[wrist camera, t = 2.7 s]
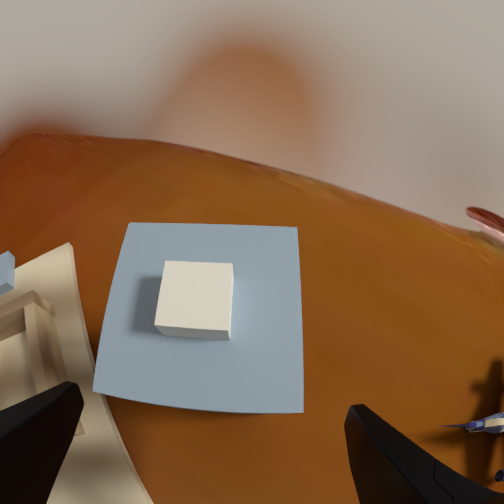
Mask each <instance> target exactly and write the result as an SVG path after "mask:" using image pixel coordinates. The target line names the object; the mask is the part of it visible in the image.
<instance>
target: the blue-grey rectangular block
mask: <svg viewBox="0 0 504 504" xmlns="http://www.w3.org/2000/svg"><path fill="white" fill-rule="evenodd" d="M92 391H93V392H97V393H101V394H105V395H110V396H114V397H118V398H123V399H128V400H133V401H138V402H143V403H148V404H154V405H160V406H167V407H174V408H181V409H189V410H198V411H210V412H223V413H242V414H285V413H303V336H302V306H301V284H300V265H299V249H298V234H297V227H278V226H253V225H223V224H183V223H129V225H128V228H127V231H126V235H125V238H124V241H123V245H122V248H121V252H120V255H119V259H118V263H117V266H116V270H115V274H114V278H113V282H112V286H111V290H110V294H109V298H108V303H107V307H106V312H105V317H104V322H103V327H102V332H101V337H100V343H99V348H98V355H97V361H96V367H95V374H94V382H93V390H92Z"/></svg>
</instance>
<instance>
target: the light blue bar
mask: <svg viewBox="0 0 504 504" xmlns="http://www.w3.org/2000/svg"><path fill="white" fill-rule="evenodd" d="M13 289H15V257H14V256H13V255H12V254H11V253H10V252H9V251H7V252H5V253H3V254H1V255H0V296H1V295H3V294H5V293H7V292H9V291H11V290H13Z"/></svg>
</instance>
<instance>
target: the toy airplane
mask: <svg viewBox="0 0 504 504" xmlns="http://www.w3.org/2000/svg"><path fill="white" fill-rule="evenodd" d="M445 426H449V427H465V430H469V432H479V431H486V432H491V433H495V434H498V433H501V432H503V431H504V413H502V412H499V413H497V414H494V415H492V416H489V417H486V418H483V419H481V420H478V421H471V423H466V424H461V425H445ZM475 429H478V430H479V431H472V430H475ZM495 480H496V481H497V482H500V481H504V469H502V470H499V471H498V472H497V473H496V475H495Z"/></svg>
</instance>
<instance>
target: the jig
mask: <svg viewBox="0 0 504 504" xmlns="http://www.w3.org/2000/svg"><path fill="white" fill-rule="evenodd" d="M95 367H96V364H95V361H94V357H93V354H92V350H91V346H90V342H89V338H88V334H87V330H86V325H85V321H84V316H83V311H82V306H81V301H80V295H79V290H78V283H77V277H76V270H75V263H74V255H73V247H72V246H71V245H70V243H69V242H68V243H66V244H64V245H62V246H60V247H58V248H56V249H54V250H52V251H50V252H48V253H45V254H43V255H41V256H39V257H37V258H35V259H34V260H32V261H30V262H28V263H26V264H24V265H22V266H20V267H18V268H16V269H15V289H13V290H11V291H9V292H7V293H5V294H3V295H1V296H0V411H1V410H3V409H5V408H8V407H10V406H12V405H14V404H17V403H19V402H21V401H23V400H26V399H28V398H30V397H32V396H35V395H37V394H39V393H41V392H43V391H46V390H48V389H50V388H52V387H54V386H56V385H58V384H61V383H63V382H65V381H71V382H75V383H77V384H78V385H79V388H80V391H81V393H82V396H83V399H84V408H83V411H82V413H81V416H80V419H79V422H78V426H77V429H76V432H75V435H74V438H73V440H72V443H71V445H70V447H69V450H68V452H67V454H66V456H65V459H64V461H63V463H62V466H61V468H60V471H59V473H58V475H57V478H56V480H55V483H54V485H53V488H52V490H51V493H50V496H49V498H48V501H47V504H154V503H153V502H152V500H151V498H150V496H149V494H148V493H147V491H146V489H145V487H144V485H143V483H142V481H141V479H140V477H139V475H138V473H137V471H136V469H135V467H134V465H133V463H132V461H131V459H130V457H129V455H128V452H127V450H126V448H125V446H124V443H123V441H122V439H121V436H120V434H119V431H118V429H117V426H116V424H115V421H114V419H113V416H112V413H111V411H110V408H109V405H108V402H107V399H106V396H105V394H101V393H97V392H93V391H92V390H93V382H94V374H95Z"/></svg>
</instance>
